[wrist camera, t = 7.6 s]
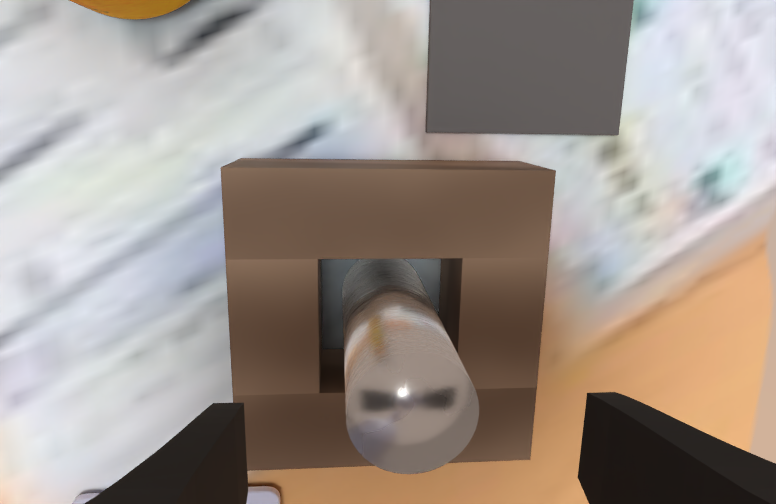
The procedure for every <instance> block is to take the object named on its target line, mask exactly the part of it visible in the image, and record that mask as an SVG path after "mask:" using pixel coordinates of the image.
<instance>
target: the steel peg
mask: <svg viewBox="0 0 776 504" xmlns="http://www.w3.org/2000/svg"><path fill="white" fill-rule="evenodd" d="M342 301H343V335H344V368H345V402H346V425H347V430H348V434H349V436H350V439H351V441H352V443H353V445H354V446H355V448H356V449H357V451H358V452H359V453H360V454H361V455H362V456H363V457H364V458H365V459H366V460H368V461H369V462H370V463H372V464H373V465H375V466H377V467H379V468H381V469H384V470H386V471H390V472H394V473H400V474H418V473H423V472H428V471H431V470H434V469H436V468H439V467H441V466H443V465H445V464H446V463H448V462H450V461H451V460H452V459H454V458H455V457H456V456H457V455H459V454H460V453H461V452H462V451H463V449H464V448H465V447H466V446H467V445H468V443H469V441H470V440H471V438H472V436H473V434H474V432H475V430H476V426H477V423H478V418H479V402H478V397H477V393H476V390H475V388H474V386H473V384H472V382H471V380H470V378H469V376H468V374H467V372H466V370H465V368H464V366H463V364H462V362H461V360H460V358H459V356H458V354H457V352H456V350H455V348H454V346H453V344H452V342H451V340H450V338H449V336H448V334H447V332H446V330H445V328H444V326H443V324H442V322H441V320H440V318H439V316H438V314H437V312H436V310H435V308H434V306H433V304H432V302H431V300H430V298H429V296H428V294H427V292H426V290H425V288H424V286H423V284H422V282H421V280H420V278H419V276H418V274H417V272H416V271H415V269H414V268H413V267H412V265H411V264H409V263H408V262H407V261H406V260H404V259H361V260H359V261H358V262H356V263H355V264H354V265H353V266H352V267H351V268H350V270H349V271H348V273H347V275H346V277H345V279H344V282H343V288H342Z"/></svg>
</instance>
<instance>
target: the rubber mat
mask: <svg viewBox="0 0 776 504" xmlns="http://www.w3.org/2000/svg"><path fill="white" fill-rule="evenodd" d="M633 1H634V0H430V17H429V48H428V78H427V109H426V132H448V133H514V134H579V135H618V134H619V125H620V116H621V107H622V99H623V90H624V81H625V72H626V63H627V54H628V46H629V37H630V28H631V19H632V10H633Z"/></svg>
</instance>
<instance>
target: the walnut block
mask: <svg viewBox="0 0 776 504" xmlns="http://www.w3.org/2000/svg"><path fill="white" fill-rule="evenodd" d="M555 173H556V171H555V170H551V169H547V168H544V167H540V166H536V165H532V164H528V163H524V162H520V161H444V160H350V159H256V158H241V159H238V160H236V161H234V162H232V163H230V164H227V165H225V166H223V167H221V182H222V201H223V219H224V238H225V257H226V275H227V294H228V313H229V331H230V350H231V369H232V387H233V403H244V415H245V435H246V456H247V471H250V470H276V469H302V468H328V467H354V466H375V465H373V464H372V463H370V462H369V461H368V460H366V459H365V458H364V457H363V456H362V455H361V454H360V453H359V452H358V451H357V449H356V448H355V446H354V445H353V443H352V441H351V439H350V436H349V434H348V430H347V425H346V402H345V368H344V349H322V285H321V259H428V258H441V278H440V302H439V318H440V320H441V322H442V324H443V326H444V328H445V330H446V332H447V334H448V336H449V338H450V340H451V342H452V344H453V346H454V348H455V350H456V352H457V354H458V356H459V358H460V360H461V362H462V364H463V366H464V368H465V370H466V372H467V374H468V376H469V378H470V380H471V382H472V384H473V386H474V388H475V390H476V393H477V397H478V402H479V418H478V423H477V426H476V430H475V432H474V434H473V436H472V438H471V440H470V441H469V443H468V445H467V446H466V447H465V448H464V449H463V451H462V452H461V453H460V454H459V455H457V456H456V457H455V458H454V459H452V460H451V461H450V462H448V463H458V462H484V461H510V460H530V456H531V445H532V434H533V422H534V411H535V400H536V388H537V377H538V366H539V354H540V343H541V332H542V320H543V309H544V298H545V286H546V275H547V264H548V252H549V241H550V230H551V218H552V207H553V196H554V184H555Z"/></svg>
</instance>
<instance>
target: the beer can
mask: <svg viewBox="0 0 776 504" xmlns="http://www.w3.org/2000/svg"><path fill="white" fill-rule="evenodd" d="M70 1H72V2H74V3H77V4H79V5H81V6H84V7H86V8H88V9H91V10H93V11H96V12H98V13H101V14H104V15H107V16H111V17H116V18H121V19H147V18H153V17H158V16H161V15H164V14H168V13H170V12H172V11H174V10H176V9H178V8H180V7H182V6H183V5H185V4H186V3H188V2H189V1H190V0H70Z"/></svg>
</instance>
